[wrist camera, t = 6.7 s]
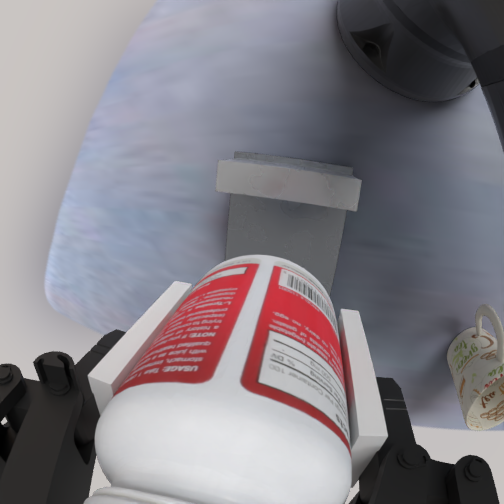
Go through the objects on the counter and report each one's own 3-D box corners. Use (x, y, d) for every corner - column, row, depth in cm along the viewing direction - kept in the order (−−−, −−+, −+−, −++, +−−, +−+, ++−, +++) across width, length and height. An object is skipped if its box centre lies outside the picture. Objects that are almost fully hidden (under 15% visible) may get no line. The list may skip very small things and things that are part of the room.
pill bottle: (190, 357, 15) (81, 557, 4) (197, 237, 13) (-29, 455, 2) (316, 383, 14) (299, 613, 4) (352, 265, 12) (424, 581, 1)
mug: (438, 383, 31) (462, 441, 22) (433, 299, 28) (471, 354, 19) (492, 360, 29) (525, 410, 20) (495, 275, 26) (545, 317, 17)
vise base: (238, 151, 27) (211, 152, 19) (350, 167, 26) (370, 173, 18) (221, 342, 34) (199, 393, 26) (312, 357, 32) (311, 413, 24)
